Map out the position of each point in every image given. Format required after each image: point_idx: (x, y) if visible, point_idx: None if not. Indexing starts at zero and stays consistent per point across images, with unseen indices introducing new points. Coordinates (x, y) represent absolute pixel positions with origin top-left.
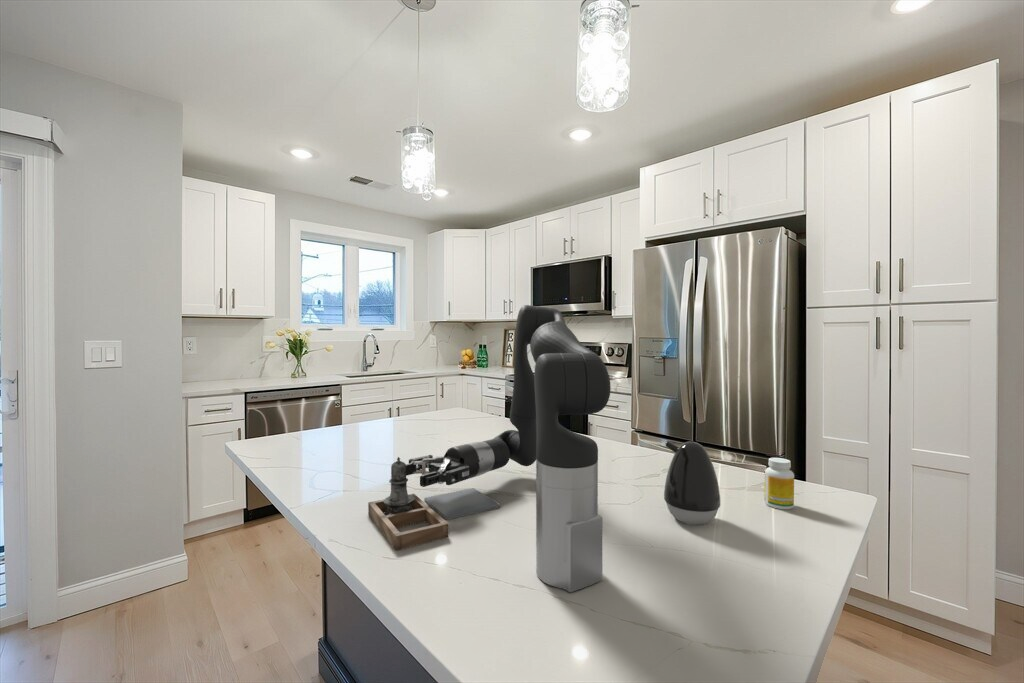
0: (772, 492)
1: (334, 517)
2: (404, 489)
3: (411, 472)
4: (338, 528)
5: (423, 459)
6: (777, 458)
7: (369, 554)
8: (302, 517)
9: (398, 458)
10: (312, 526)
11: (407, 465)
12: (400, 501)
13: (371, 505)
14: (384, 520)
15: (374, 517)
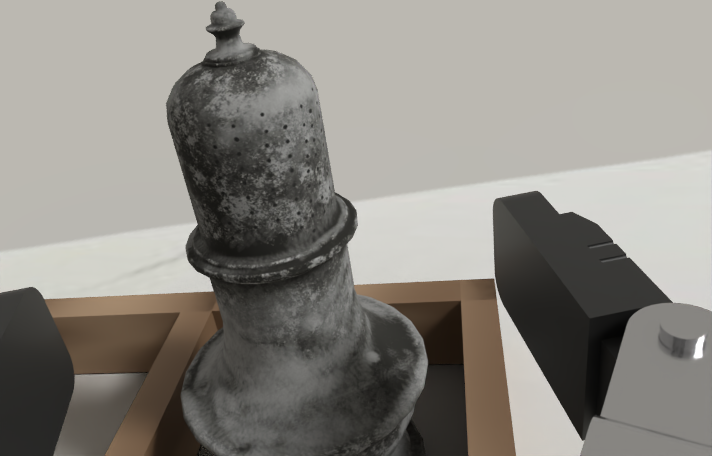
0: None
1: None
2: (221, 312)
3: (568, 399)
4: (390, 239)
5: (630, 430)
6: None
7: (66, 288)
8: (599, 168)
9: (213, 15)
10: (474, 188)
11: (545, 265)
12: (217, 345)
13: (426, 284)
14: (155, 297)
15: None
